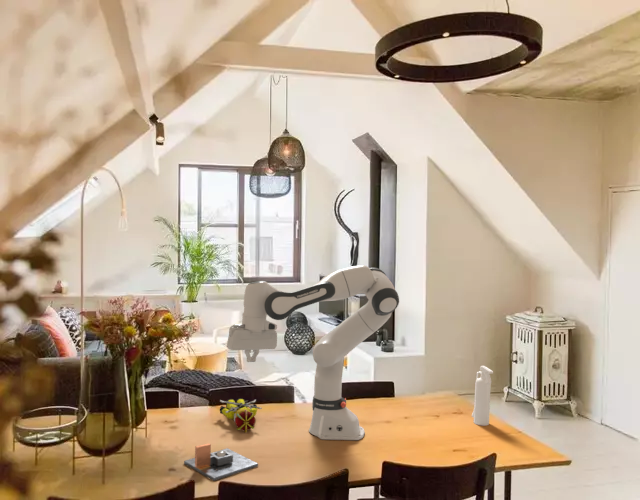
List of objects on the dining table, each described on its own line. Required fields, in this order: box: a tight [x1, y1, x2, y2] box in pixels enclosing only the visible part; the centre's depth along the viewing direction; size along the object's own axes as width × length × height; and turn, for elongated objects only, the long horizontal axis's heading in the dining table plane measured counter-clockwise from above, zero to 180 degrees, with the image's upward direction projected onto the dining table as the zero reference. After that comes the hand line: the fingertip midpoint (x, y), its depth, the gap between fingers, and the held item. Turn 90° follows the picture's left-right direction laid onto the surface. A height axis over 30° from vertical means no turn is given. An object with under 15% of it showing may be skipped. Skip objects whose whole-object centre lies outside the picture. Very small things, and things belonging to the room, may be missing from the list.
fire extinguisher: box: [471, 365, 494, 427], centre depth 255 cm, size 7×12×25 cm, turn 16°
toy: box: [219, 398, 263, 434], centre depth 247 cm, size 16×9×30 cm
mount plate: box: [183, 448, 259, 482], centre depth 202 cm, size 18×18×4 cm
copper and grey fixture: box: [194, 443, 233, 468], centre depth 200 cm, size 12×6×7 cm, turn 128°
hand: (251, 361), depth 218 cm, fingers closed
